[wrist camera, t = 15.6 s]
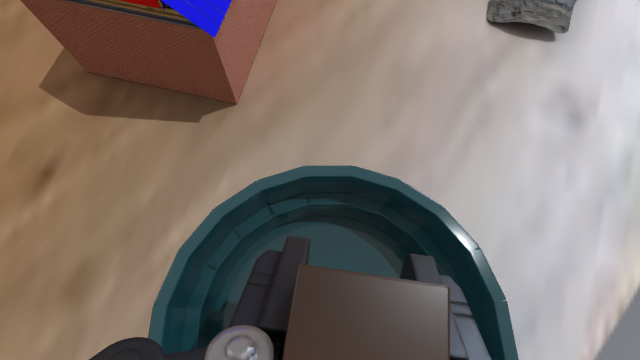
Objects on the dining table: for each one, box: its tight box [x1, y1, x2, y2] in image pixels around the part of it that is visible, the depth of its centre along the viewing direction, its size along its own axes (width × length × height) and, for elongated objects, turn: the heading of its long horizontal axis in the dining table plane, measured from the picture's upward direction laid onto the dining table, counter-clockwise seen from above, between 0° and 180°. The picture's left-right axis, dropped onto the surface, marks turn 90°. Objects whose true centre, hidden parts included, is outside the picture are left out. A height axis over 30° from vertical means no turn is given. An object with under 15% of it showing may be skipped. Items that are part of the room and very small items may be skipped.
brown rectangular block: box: [282, 264, 450, 360], centre depth 10 cm, size 3×3×9 cm
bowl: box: [148, 166, 519, 360], centre depth 16 cm, size 15×15×6 cm
